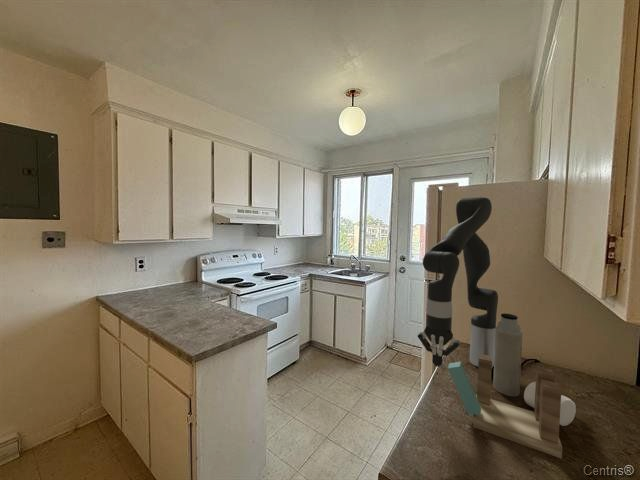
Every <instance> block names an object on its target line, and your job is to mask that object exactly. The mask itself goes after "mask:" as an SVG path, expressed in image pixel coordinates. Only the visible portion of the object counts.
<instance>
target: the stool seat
mask: <svg viewBox="0 0 640 480" xmlns="http://www.w3.org/2000/svg"><path fill="white" fill-rule="evenodd" d="M492 369H493V368H492V357H491V356H487V355H483V354H479V362H478V368H477V385H476V386H477V389H476V390H477V391H476V392H477V393H475V395H476V397H477V399H478V402H479V404H480V406H481V414H472V427H473V428H474V429H477V430H481V431H484V432H486V433H489V434H491V435H494V436H497V437H501V438H502V439H506V440H509V441H511V442H514V443H516V444H519V445H523V446H525V447H528V448H531V449H533V450H537V451H539V452H541V453H545V454H547V455H550V456H553V457H556V458H558V459H563V445H562V442H561V439H560V424H559V423H560V406H561V395H562V389H561V387H560V385H559V383H557V382H555V378H556V377H555V376H556V375H555V373H554V371H553V369H549V368H543V367H539V366H536V371H535V373H536V374H535V382H536V387H535V406H534V408H533V410H534V411H532V410H529V409H527V408H523V407H518V406H515V405H511V404H510V403H509V404H508V403H505V402H502V401H498V400H496V399H493V398H491V394H492V393H491V392H492V390H491V389H492V388H491V387H492V371H493V370H492Z"/></svg>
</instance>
